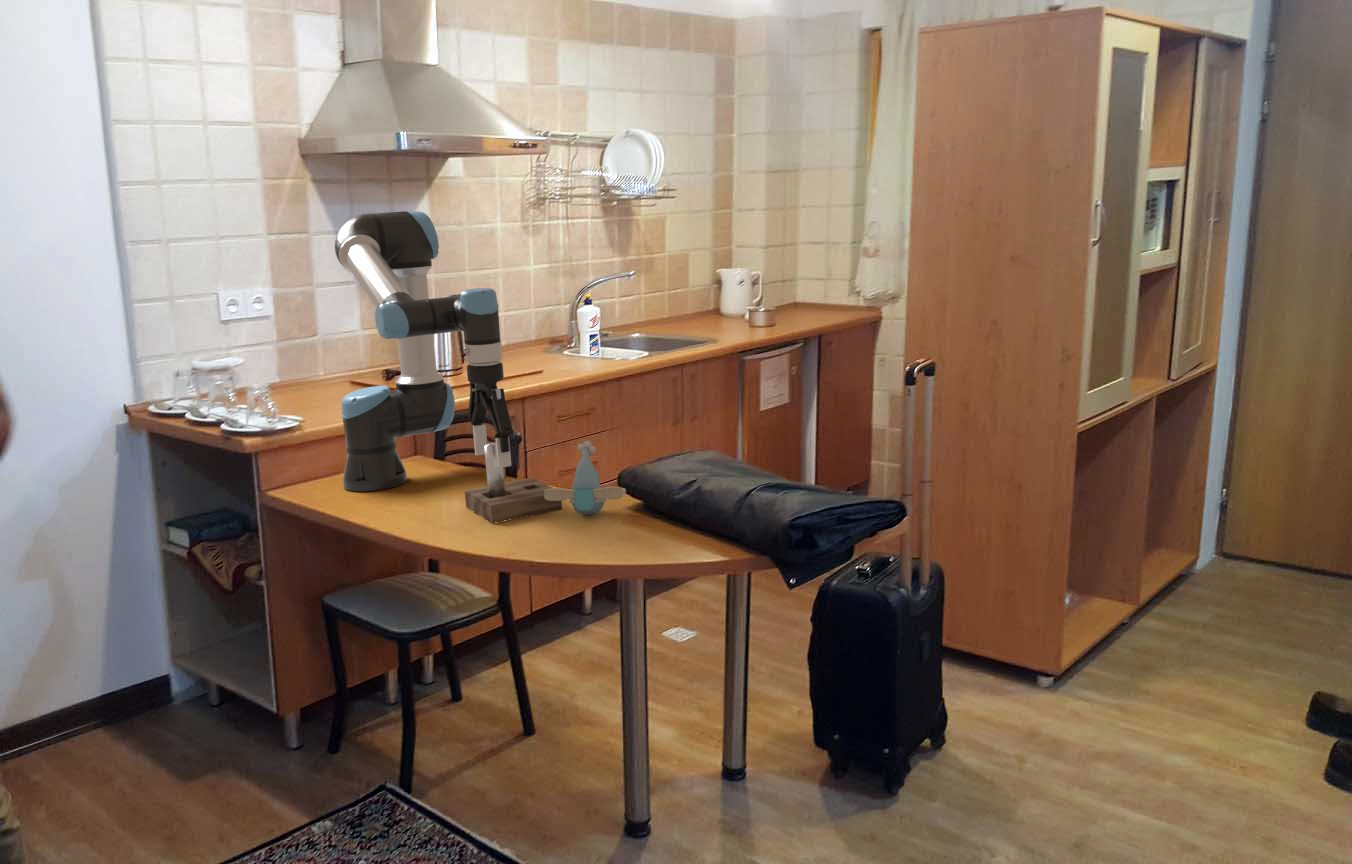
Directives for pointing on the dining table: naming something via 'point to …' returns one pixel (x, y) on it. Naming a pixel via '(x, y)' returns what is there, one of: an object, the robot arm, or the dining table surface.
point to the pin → (493, 472)
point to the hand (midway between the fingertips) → (492, 460)
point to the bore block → (512, 501)
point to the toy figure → (585, 486)
